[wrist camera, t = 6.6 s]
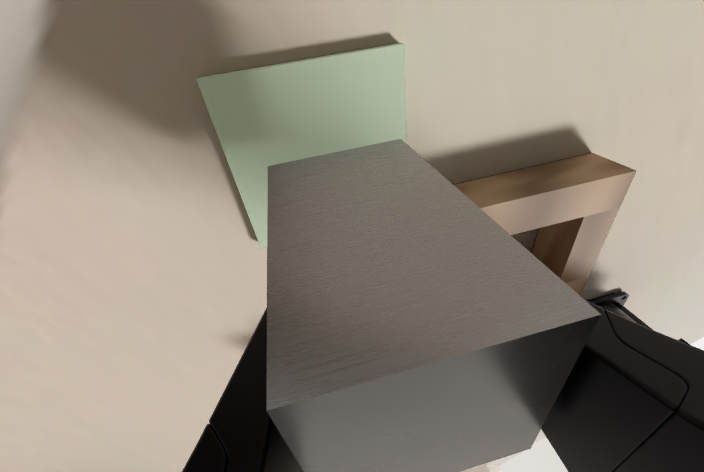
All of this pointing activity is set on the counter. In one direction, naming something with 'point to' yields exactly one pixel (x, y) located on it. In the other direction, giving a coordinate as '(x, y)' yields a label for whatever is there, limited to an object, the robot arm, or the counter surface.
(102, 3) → the counter surface
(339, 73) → the green pad
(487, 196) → the socket plate
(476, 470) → the pipe fitting
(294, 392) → the steel block
